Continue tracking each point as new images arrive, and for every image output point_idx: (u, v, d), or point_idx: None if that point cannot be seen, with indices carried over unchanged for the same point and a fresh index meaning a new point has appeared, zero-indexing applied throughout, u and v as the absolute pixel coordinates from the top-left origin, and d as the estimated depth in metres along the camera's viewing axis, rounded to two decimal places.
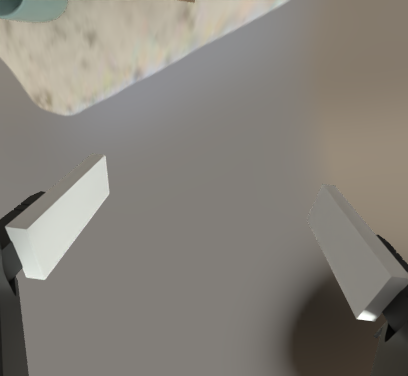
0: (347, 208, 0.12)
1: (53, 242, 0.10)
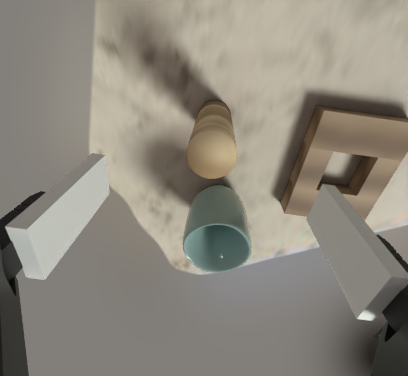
0: (347, 208, 0.12)
1: (53, 242, 0.10)
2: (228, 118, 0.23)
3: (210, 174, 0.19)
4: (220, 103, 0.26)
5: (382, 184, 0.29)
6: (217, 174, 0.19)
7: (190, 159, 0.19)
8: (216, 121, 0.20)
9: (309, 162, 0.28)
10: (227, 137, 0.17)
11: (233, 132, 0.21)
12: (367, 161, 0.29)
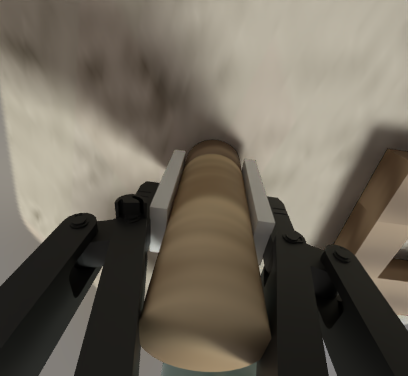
0: (254, 176, 0.14)
1: None
2: (239, 193, 0.11)
3: (201, 366, 0.08)
4: (222, 148, 0.15)
5: None
6: (218, 367, 0.08)
7: (149, 343, 0.07)
8: (215, 227, 0.08)
9: (372, 241, 0.17)
10: (246, 312, 0.06)
11: (252, 237, 0.10)
12: None
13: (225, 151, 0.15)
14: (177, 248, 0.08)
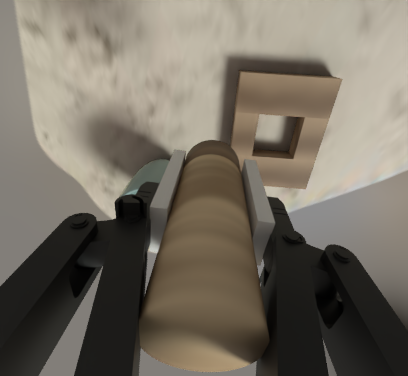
0: (254, 176, 0.14)
1: None
2: (238, 193, 0.11)
3: (199, 366, 0.08)
4: (222, 149, 0.15)
5: (315, 145, 0.29)
6: (217, 367, 0.08)
7: (147, 343, 0.07)
8: (214, 228, 0.08)
9: (238, 127, 0.29)
10: (244, 312, 0.06)
11: (251, 238, 0.10)
12: (299, 123, 0.29)
13: (224, 151, 0.15)
14: (176, 249, 0.08)
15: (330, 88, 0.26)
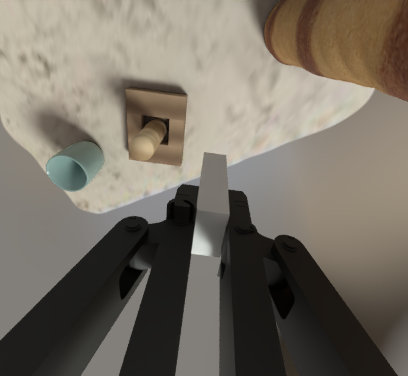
0: (220, 170, 0.14)
1: None
2: (157, 129, 0.42)
3: (142, 158, 0.39)
4: (158, 120, 0.46)
5: (179, 137, 0.46)
6: (145, 158, 0.39)
7: (131, 151, 0.38)
8: (146, 132, 0.39)
9: (130, 122, 0.45)
10: (146, 140, 0.37)
11: (157, 137, 0.41)
12: None
13: (159, 120, 0.46)
14: (137, 134, 0.39)
15: (180, 102, 0.43)
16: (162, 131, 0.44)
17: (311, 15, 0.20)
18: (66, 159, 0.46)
